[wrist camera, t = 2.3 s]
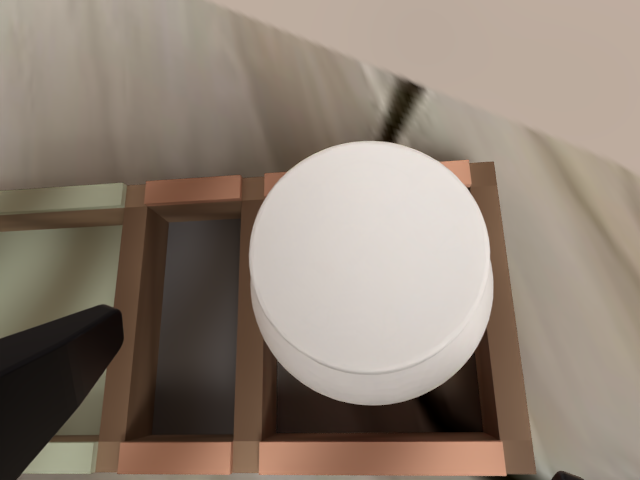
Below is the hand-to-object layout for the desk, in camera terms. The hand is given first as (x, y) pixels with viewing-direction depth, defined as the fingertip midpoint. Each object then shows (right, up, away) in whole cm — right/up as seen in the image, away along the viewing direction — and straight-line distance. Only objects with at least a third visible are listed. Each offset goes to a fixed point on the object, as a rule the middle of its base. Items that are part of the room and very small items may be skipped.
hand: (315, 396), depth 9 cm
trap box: (-5, 0, +11) cm, 12 cm away
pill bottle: (+2, 0, +10) cm, 11 cm away
